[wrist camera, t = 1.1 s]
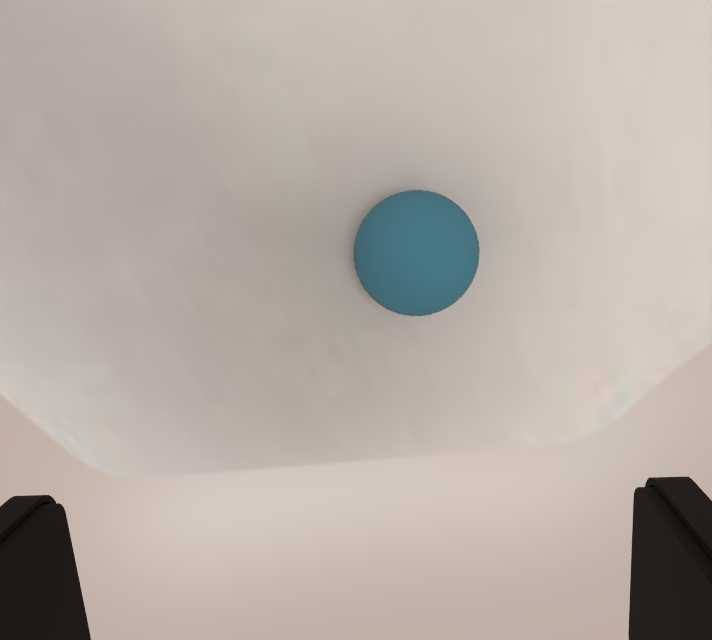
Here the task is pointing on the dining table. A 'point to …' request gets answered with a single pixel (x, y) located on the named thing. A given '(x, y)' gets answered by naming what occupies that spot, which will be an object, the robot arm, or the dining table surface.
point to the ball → (416, 253)
